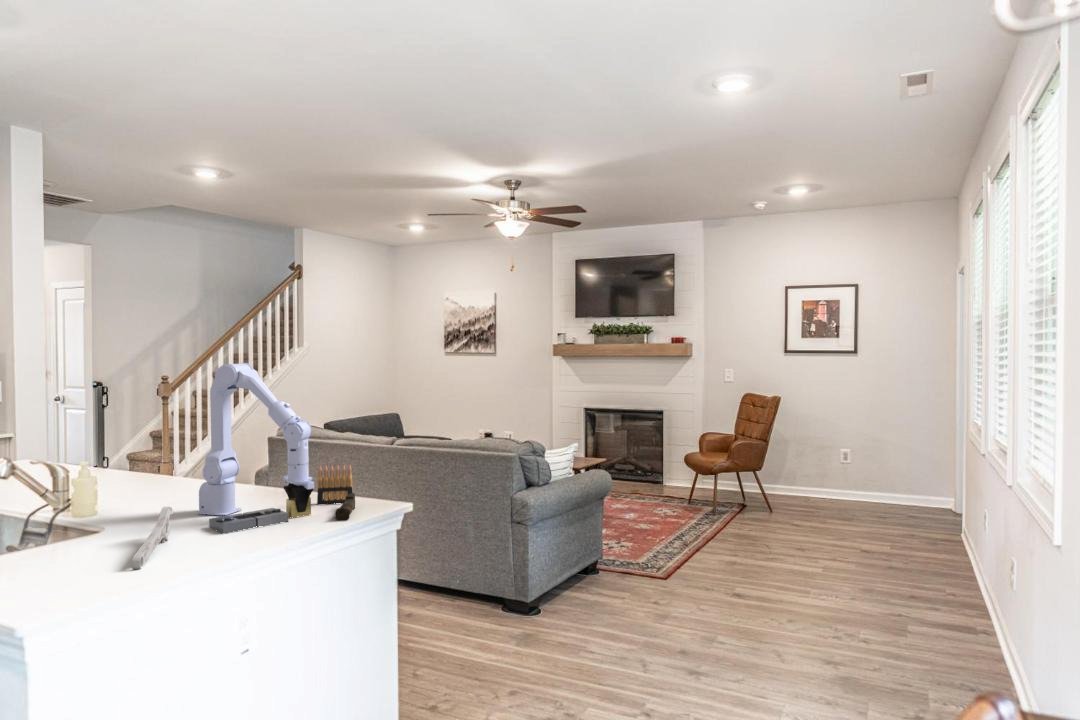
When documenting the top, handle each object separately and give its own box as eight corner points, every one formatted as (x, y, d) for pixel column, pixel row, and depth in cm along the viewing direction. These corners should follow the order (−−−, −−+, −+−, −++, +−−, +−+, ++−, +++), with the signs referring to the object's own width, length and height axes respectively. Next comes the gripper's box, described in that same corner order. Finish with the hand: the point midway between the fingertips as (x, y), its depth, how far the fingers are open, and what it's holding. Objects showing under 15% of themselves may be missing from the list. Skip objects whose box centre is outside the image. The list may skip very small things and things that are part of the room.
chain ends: (223, 533, 196) (223, 522, 196) (209, 527, 202) (209, 517, 202) (288, 521, 209) (288, 511, 209) (273, 516, 215) (273, 506, 215)
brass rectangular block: (291, 518, 212) (291, 500, 212) (286, 516, 215) (286, 499, 214) (311, 514, 217) (310, 497, 217) (305, 513, 219) (305, 496, 219)
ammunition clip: (317, 504, 230) (316, 465, 230) (317, 503, 232) (317, 464, 232) (353, 503, 232) (352, 464, 232) (353, 501, 234) (352, 463, 234)
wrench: (132, 583, 165) (166, 533, 194) (141, 582, 166) (174, 533, 195) (130, 548, 164) (165, 503, 193) (139, 547, 165) (172, 503, 194)
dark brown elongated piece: (349, 521, 210) (349, 505, 210) (335, 521, 210) (334, 505, 209) (362, 506, 229) (362, 491, 228) (348, 507, 228) (348, 491, 228)
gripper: (323, 464, 213) (324, 512, 213) (298, 459, 223) (299, 504, 224) (300, 467, 208) (301, 516, 208) (276, 462, 218) (276, 508, 219)
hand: (298, 510), depth 216 cm, fingers closed on brass rectangular block, 3 cm apart
